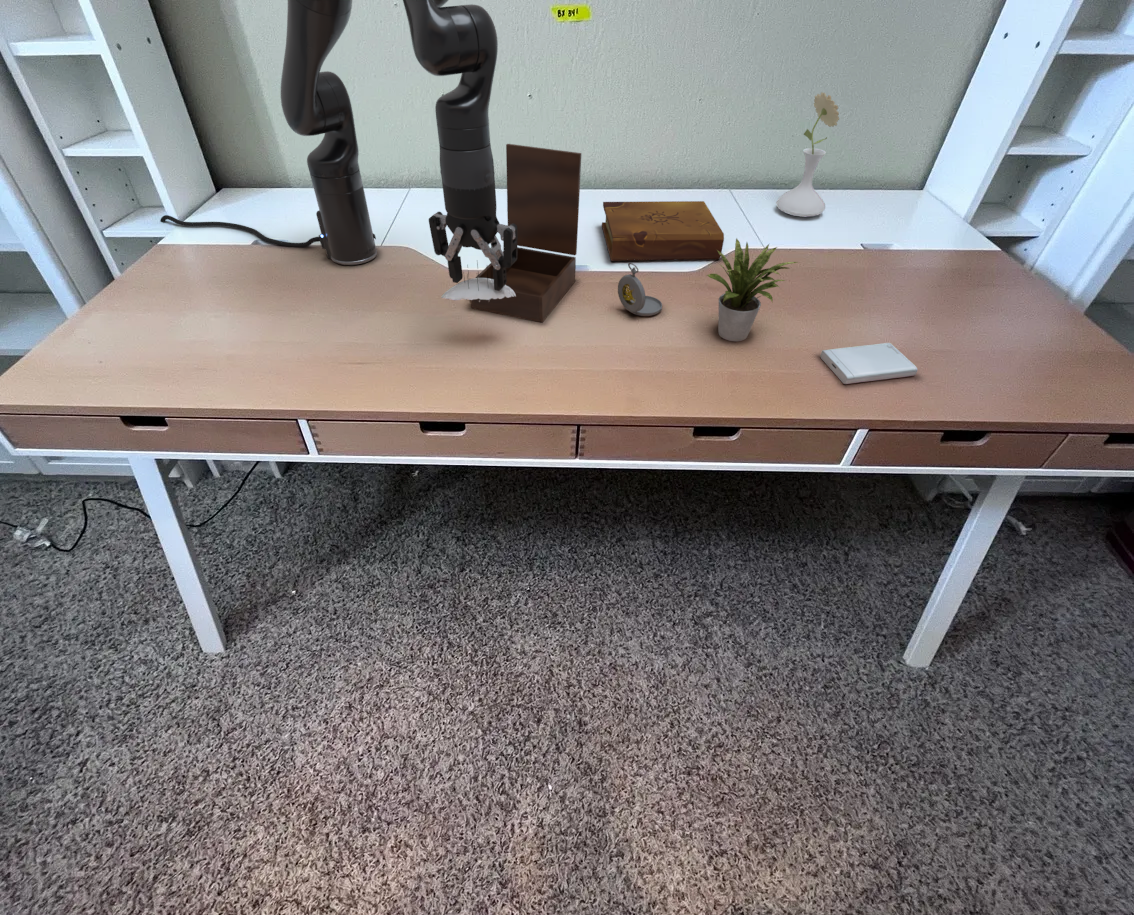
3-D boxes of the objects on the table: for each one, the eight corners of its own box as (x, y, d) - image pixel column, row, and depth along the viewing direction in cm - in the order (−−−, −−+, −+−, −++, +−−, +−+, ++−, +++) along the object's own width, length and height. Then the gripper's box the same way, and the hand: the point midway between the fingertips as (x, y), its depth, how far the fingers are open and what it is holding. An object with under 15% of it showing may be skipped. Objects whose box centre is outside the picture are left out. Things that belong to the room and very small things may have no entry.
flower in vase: (829, 221, 147) (864, 103, 130) (780, 221, 147) (809, 102, 130) (813, 201, 157) (844, 88, 140) (768, 200, 157) (793, 87, 140)
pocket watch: (665, 303, 118) (671, 252, 111) (655, 325, 112) (661, 273, 105) (623, 296, 120) (627, 246, 113) (611, 317, 114) (614, 265, 107)
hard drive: (889, 341, 106) (822, 348, 104) (918, 368, 100) (848, 376, 98) (885, 349, 107) (819, 357, 105) (914, 377, 101) (844, 385, 99)
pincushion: (440, 309, 99) (436, 276, 95) (442, 291, 104) (438, 258, 100) (516, 306, 100) (514, 273, 96) (515, 288, 105) (513, 256, 101)
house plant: (757, 369, 102) (782, 276, 91) (680, 344, 107) (694, 253, 96) (784, 330, 111) (810, 241, 100) (711, 309, 116) (728, 222, 105)
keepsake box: (542, 322, 112) (542, 297, 109) (471, 308, 116) (469, 283, 112) (575, 281, 124) (575, 257, 121) (510, 269, 128) (508, 245, 124)
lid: (580, 153, 109) (581, 153, 110) (506, 144, 112) (507, 143, 113) (575, 255, 120) (576, 254, 121) (507, 244, 124) (509, 242, 124)
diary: (611, 263, 130) (612, 236, 126) (601, 227, 144) (603, 201, 140) (720, 261, 131) (724, 234, 127) (700, 225, 145) (704, 200, 141)
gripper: (524, 175, 90) (528, 282, 101) (436, 163, 93) (449, 267, 105) (502, 193, 85) (509, 303, 96) (410, 179, 88) (427, 287, 100)
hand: (478, 284), depth 100 cm, fingers closed on pincushion, 7 cm apart
